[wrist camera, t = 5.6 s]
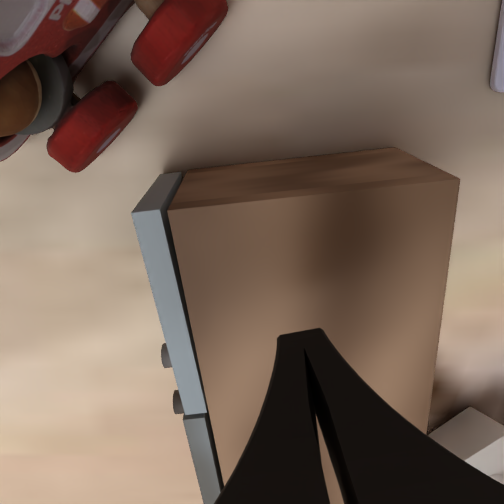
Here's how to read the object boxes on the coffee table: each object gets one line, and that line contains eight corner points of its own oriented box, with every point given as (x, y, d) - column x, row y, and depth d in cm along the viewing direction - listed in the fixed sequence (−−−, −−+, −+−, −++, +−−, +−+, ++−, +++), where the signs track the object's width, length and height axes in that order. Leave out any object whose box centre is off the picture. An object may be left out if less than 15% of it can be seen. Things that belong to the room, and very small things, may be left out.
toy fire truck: (-62, 77, 17) (-452, 85, 7) (125, -189, 13) (-148, -814, 4) (72, 191, 19) (-91, 310, 10) (259, -11, 16) (291, -135, 6)
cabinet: (394, 147, 18) (460, 178, 13) (378, 436, 27) (413, 528, 22) (140, 174, 19) (100, 217, 13) (204, 453, 27) (196, 549, 22)
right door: (180, 171, 18) (159, 209, 13) (213, 336, 22) (206, 412, 18) (137, 177, 18) (99, 216, 13) (178, 341, 23) (161, 417, 18)
